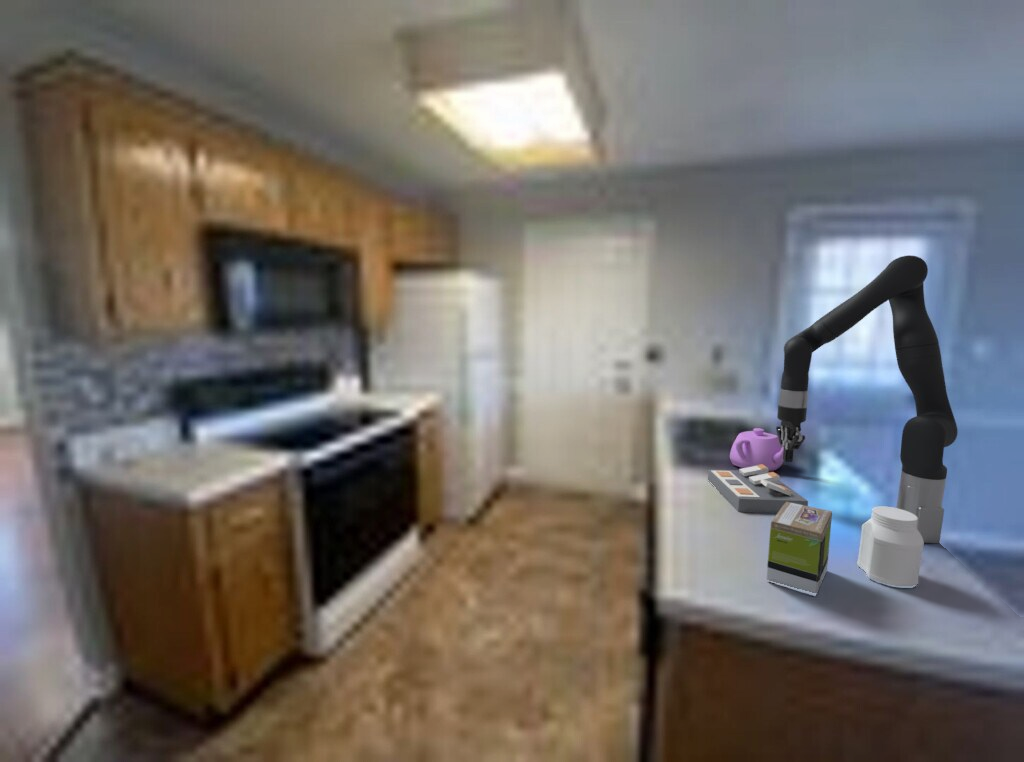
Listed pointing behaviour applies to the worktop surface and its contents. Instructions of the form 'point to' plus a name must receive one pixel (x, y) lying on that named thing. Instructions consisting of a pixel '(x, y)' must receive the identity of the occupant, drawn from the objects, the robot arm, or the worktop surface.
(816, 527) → the tea box
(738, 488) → the switch panel
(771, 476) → the rocker
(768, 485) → the rocker
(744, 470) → the rocker
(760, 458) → the teapot
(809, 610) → the worktop surface
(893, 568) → the jar
